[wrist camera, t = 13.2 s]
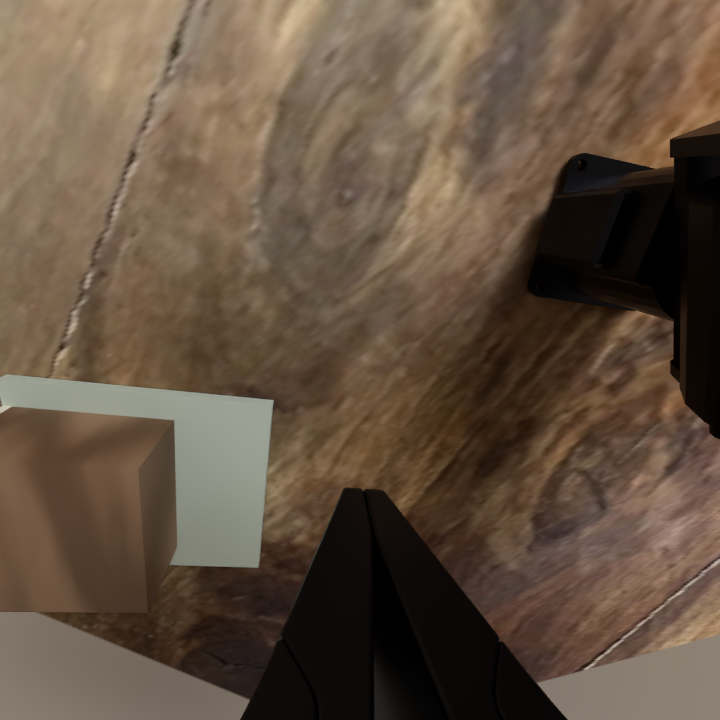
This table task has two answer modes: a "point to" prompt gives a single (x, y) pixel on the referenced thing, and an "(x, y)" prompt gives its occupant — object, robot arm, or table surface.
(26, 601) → the walnut slab
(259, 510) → the sage mat
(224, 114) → the table surface
